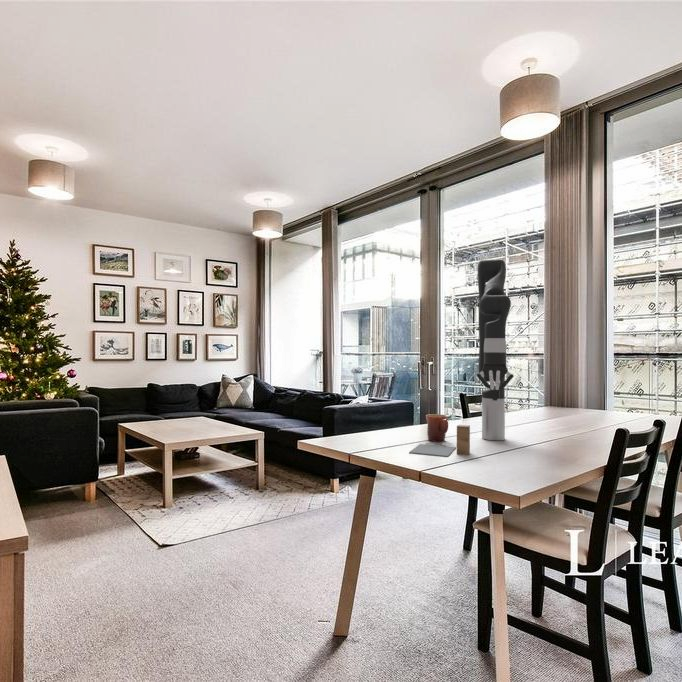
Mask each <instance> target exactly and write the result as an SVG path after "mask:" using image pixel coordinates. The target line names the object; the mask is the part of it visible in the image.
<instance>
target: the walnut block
mask: <svg viewBox="0 0 682 682" xmlns="http://www.w3.org/2000/svg"><path fill="white" fill-rule="evenodd" d="M470 453H471V425H469V424H458V425H457V426H456V455H463V456H469V455H470Z"/></svg>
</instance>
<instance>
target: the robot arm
mask: <svg viewBox="0 0 682 682" xmlns="http://www.w3.org/2000/svg"><path fill="white" fill-rule="evenodd" d="M506 265H507V264H506V262H505V261H504V260H503V259H501V258H496V259H482V260H479V261H478V263H477V271H476V272H477V285H478V286H477V287H478V288H477V289H478V338H479V339H478V341H479V342H478V343H479V349H478V366H477V367H478V368H477V369H478V373H477V374H476V376H477V378H478V380H479V381H480V382H481V383H482V385H483V386H484V387H485V388H487V389H484V390H482V391H481V438H482V439H484V440H488V441H503V440H506V421H505V420H506V405H505V403H506V401H505V400H506V398H505V397H506V396H505V394H506V393H505V392H506V391H505V390H506V389H505V387H506V386H507V385H508V384H509V382H511V380H512V379H513V378H514V377H515V375H514V374H513V373H511V372H509V371H508V370H509V369H508V367H507V341H506V330H507V329H506V325H507V321H508V316H509V313H510V310H511V305H512V301H511V299H510V297H509V296H508V295H506V294H505V282H506V277H507V267H506Z"/></svg>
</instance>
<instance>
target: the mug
mask: <svg viewBox="0 0 682 682" xmlns="http://www.w3.org/2000/svg"><path fill="white" fill-rule="evenodd" d="M425 418H426V422H427V430H426V431H427V432H426V433H427V434H426V435H427V439H428V441H430V442H435V443H436V442H437V443H440V442H444V441H445V440H446V436H447V432H448V430H449V421H448V420H447V418H448V415H446V414H439V413H436V414H435V413H431V414H430V413H429V414H426V415H425Z"/></svg>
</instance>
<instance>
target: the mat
mask: <svg viewBox="0 0 682 682" xmlns="http://www.w3.org/2000/svg"><path fill="white" fill-rule="evenodd" d="M455 450H457V446H448V445H447V446H446V445H437V444H436V445H435V444H424V443H419V444H418V445H417V446H415V447H414V448H412V449H411V450H410V451H409V453H408V454H413V455H414V454H416V455H424V456H435V457H444V458H445V457H446V458H449V457H450V456H451V454H452V453H453V452H454V451H455Z"/></svg>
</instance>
